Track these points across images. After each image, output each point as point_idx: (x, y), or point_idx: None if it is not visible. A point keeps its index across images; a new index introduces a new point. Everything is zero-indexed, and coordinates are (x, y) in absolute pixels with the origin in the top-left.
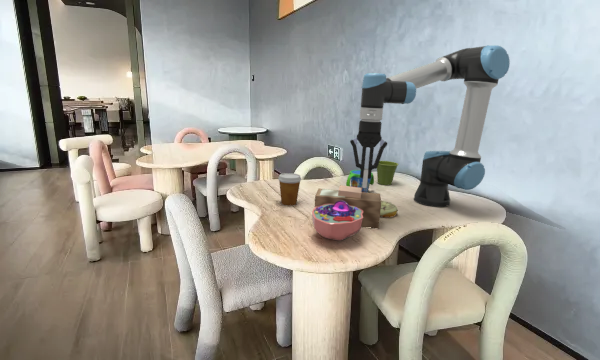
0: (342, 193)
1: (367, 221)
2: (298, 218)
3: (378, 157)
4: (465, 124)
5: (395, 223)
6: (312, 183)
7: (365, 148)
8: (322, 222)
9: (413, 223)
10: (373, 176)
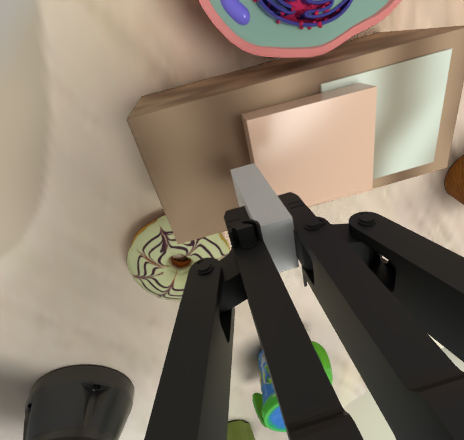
0: (344, 91)
1: (185, 88)
2: None
3: (191, 361)
4: None
5: (108, 184)
6: None
7: (455, 420)
8: None
9: (55, 217)
10: (260, 420)
